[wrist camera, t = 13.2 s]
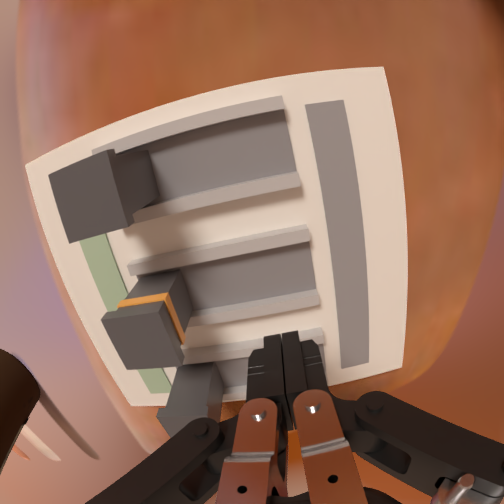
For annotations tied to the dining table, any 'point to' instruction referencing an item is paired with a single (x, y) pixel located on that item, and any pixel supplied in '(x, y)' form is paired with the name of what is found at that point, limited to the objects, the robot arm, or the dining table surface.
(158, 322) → the breaker handle
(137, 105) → the dining table surface
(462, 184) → the dining table surface
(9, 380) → the olive oil
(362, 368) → the switch board
